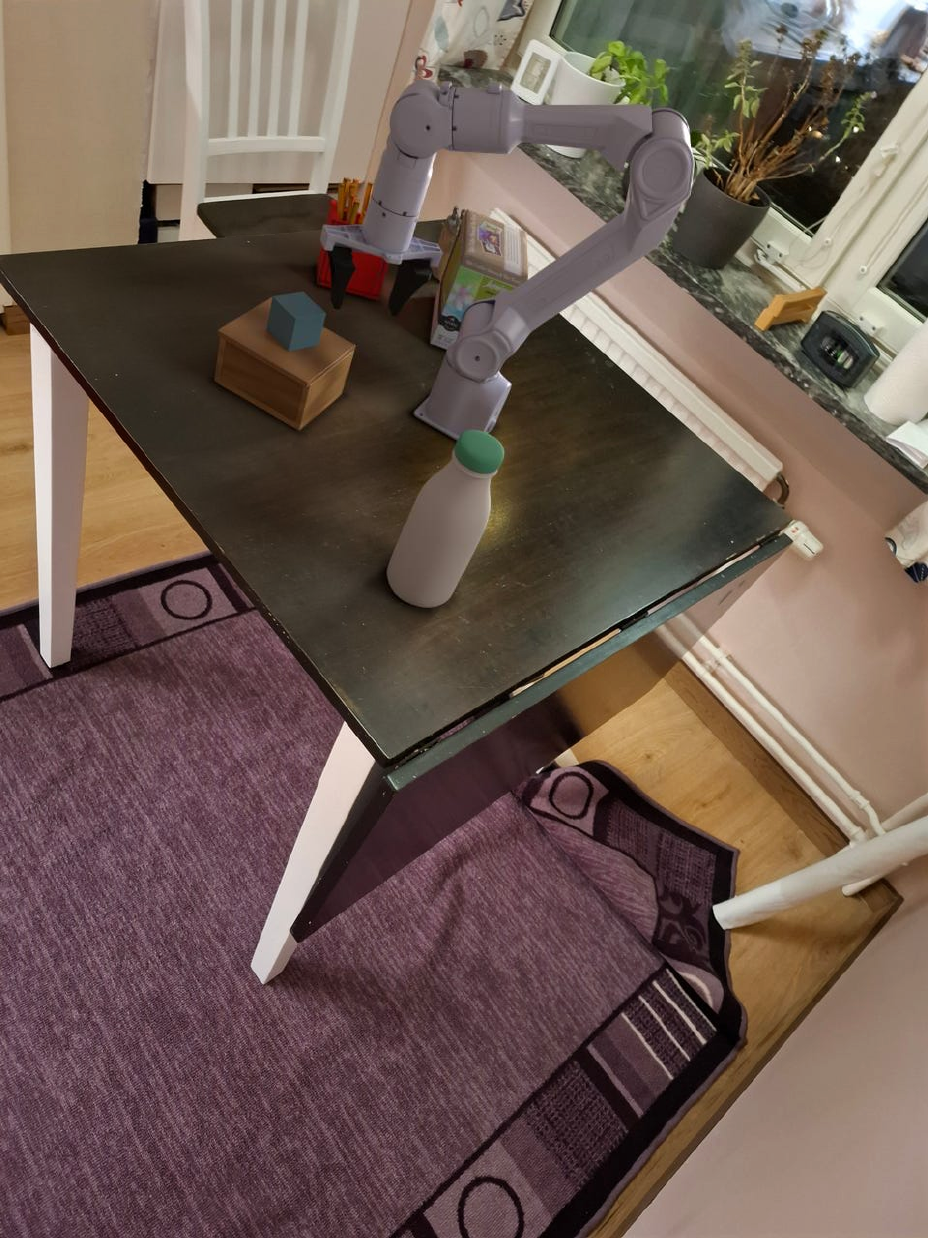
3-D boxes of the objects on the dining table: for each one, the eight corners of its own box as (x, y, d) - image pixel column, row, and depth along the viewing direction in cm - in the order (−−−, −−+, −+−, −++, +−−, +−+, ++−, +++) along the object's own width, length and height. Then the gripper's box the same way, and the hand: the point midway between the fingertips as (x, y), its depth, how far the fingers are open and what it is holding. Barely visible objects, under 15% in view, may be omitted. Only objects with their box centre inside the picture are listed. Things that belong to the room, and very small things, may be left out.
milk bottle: (443, 620, 88) (514, 485, 74) (376, 593, 87) (434, 451, 73) (458, 572, 94) (527, 438, 79) (395, 546, 93) (453, 405, 78)
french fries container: (316, 262, 125) (337, 169, 115) (375, 277, 128) (400, 189, 118) (317, 287, 121) (338, 193, 111) (377, 302, 124) (403, 212, 114)
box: (298, 431, 99) (310, 385, 94) (214, 380, 100) (220, 332, 95) (341, 394, 107) (354, 350, 102) (262, 347, 107) (271, 301, 102)
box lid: (306, 387, 94) (307, 382, 93) (216, 335, 94) (217, 329, 94) (354, 349, 102) (355, 345, 101) (271, 301, 102) (272, 296, 102)
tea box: (491, 366, 123) (530, 277, 113) (428, 345, 121) (461, 251, 110) (492, 315, 133) (528, 228, 123) (434, 294, 131) (465, 204, 120)
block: (318, 345, 99) (326, 313, 95) (288, 351, 96) (295, 318, 93) (296, 323, 100) (303, 291, 97) (266, 329, 97) (272, 295, 94)
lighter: (453, 285, 135) (474, 227, 128) (431, 279, 134) (451, 221, 127) (449, 263, 139) (469, 206, 132) (428, 257, 138) (447, 199, 131)
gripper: (344, 210, 86) (316, 321, 96) (464, 232, 94) (426, 333, 103) (327, 175, 90) (301, 286, 100) (444, 198, 97) (409, 300, 107)
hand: (364, 308), depth 102 cm, fingers open, 7 cm apart
